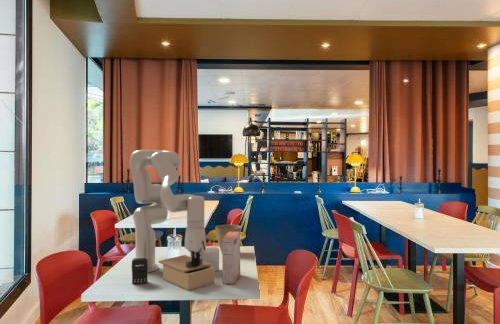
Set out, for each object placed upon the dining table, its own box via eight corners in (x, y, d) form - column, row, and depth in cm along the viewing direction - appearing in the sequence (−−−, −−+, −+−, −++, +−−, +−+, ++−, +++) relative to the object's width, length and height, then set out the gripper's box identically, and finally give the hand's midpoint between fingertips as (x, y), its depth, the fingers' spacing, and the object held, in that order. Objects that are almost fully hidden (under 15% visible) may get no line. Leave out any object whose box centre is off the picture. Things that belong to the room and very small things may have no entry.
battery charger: (131, 285, 161) (131, 259, 161) (132, 282, 165) (131, 257, 165) (147, 284, 163) (147, 258, 163) (148, 281, 167) (148, 256, 166)
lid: (158, 262, 171) (158, 255, 171) (184, 256, 181) (184, 250, 181) (183, 272, 156) (183, 265, 156) (210, 265, 166) (210, 258, 166)
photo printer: (216, 268, 186) (216, 244, 186) (220, 270, 182) (220, 245, 182) (197, 272, 180) (197, 246, 180) (201, 274, 177) (201, 248, 177)
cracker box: (228, 274, 177) (228, 230, 177) (240, 274, 176) (240, 231, 176) (221, 284, 163) (221, 237, 163) (234, 284, 162) (234, 237, 162)
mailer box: (163, 279, 169) (163, 264, 169) (188, 273, 179) (188, 258, 178) (188, 291, 154) (188, 274, 154) (214, 283, 164) (214, 267, 164)
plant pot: (240, 250, 222) (240, 224, 221) (241, 257, 207) (241, 229, 207) (215, 251, 221) (215, 224, 220) (215, 257, 206) (215, 229, 206)
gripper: (178, 223, 163) (178, 264, 163) (199, 227, 152) (198, 271, 153) (192, 221, 168) (192, 260, 169) (213, 225, 158) (213, 268, 158)
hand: (195, 265), depth 161 cm, fingers closed
